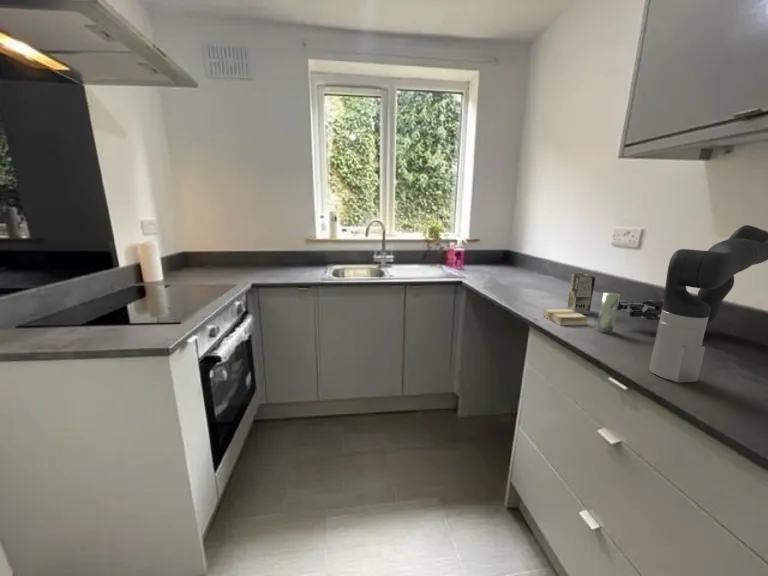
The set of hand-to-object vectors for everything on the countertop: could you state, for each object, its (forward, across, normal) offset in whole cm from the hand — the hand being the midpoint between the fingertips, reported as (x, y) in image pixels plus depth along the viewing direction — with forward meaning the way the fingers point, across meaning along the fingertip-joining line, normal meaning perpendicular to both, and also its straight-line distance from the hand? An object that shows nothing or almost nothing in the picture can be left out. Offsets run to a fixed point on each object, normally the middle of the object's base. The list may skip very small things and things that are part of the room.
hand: (620, 310), depth 125 cm
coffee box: (-3, -25, +8) cm, 27 cm away
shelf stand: (+12, -13, +8) cm, 19 cm away
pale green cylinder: (+5, 0, +8) cm, 9 cm away
